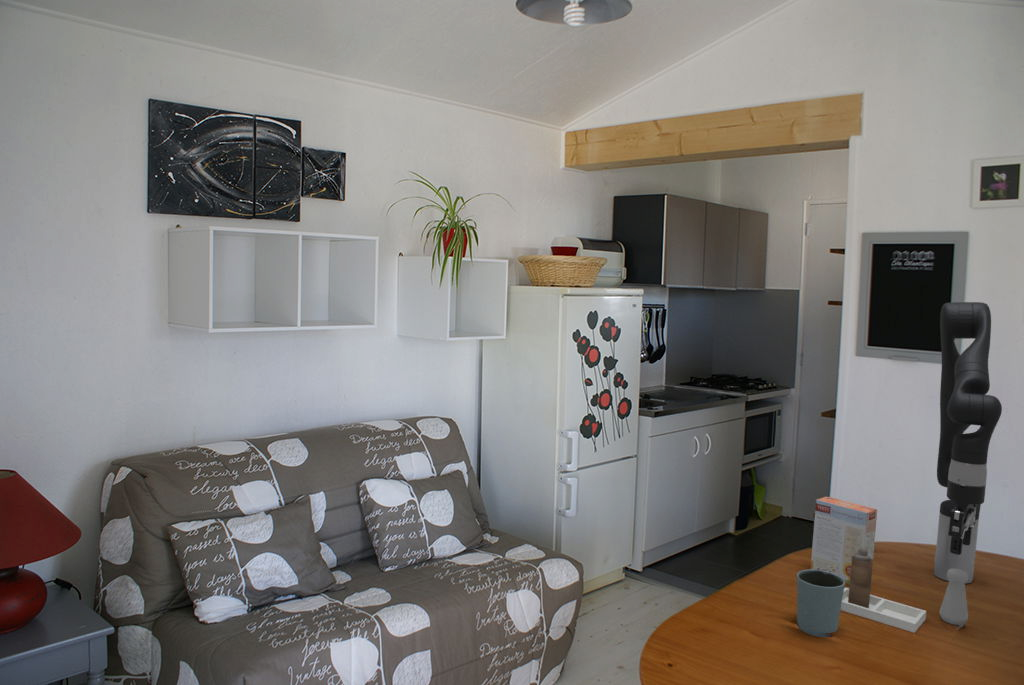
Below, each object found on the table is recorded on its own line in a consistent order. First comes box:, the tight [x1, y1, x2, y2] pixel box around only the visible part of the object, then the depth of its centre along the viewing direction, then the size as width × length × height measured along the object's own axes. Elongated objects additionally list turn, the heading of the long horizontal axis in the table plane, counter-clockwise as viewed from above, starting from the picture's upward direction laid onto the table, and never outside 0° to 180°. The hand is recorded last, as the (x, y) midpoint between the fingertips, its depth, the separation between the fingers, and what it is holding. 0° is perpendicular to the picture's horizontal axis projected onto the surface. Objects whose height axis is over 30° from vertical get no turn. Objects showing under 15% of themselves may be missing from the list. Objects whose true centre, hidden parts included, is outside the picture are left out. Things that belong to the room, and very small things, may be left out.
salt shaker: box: [939, 568, 969, 629], centre depth 184 cm, size 6×6×13 cm
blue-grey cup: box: [796, 568, 846, 638], centre depth 178 cm, size 10×10×12 cm
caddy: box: [840, 587, 927, 634], centre depth 186 cm, size 10×18×3 cm, turn 49°
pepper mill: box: [848, 547, 874, 609], centre depth 189 cm, size 5×5×15 cm
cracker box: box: [810, 496, 878, 586], centre depth 207 cm, size 14×6×21 cm, turn 40°
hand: (960, 549), depth 182 cm, fingers open, 8 cm apart
